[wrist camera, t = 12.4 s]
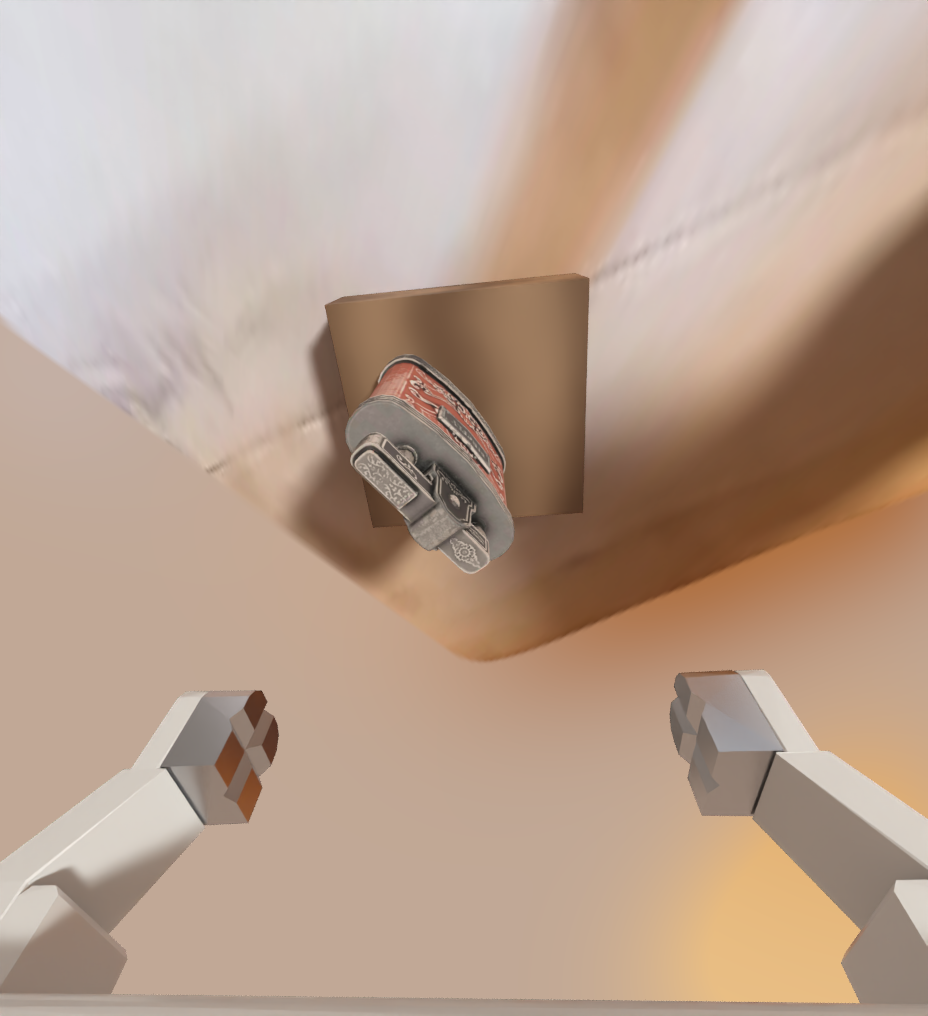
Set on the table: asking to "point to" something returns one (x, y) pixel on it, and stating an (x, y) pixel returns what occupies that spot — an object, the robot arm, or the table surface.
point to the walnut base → (486, 373)
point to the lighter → (433, 463)
